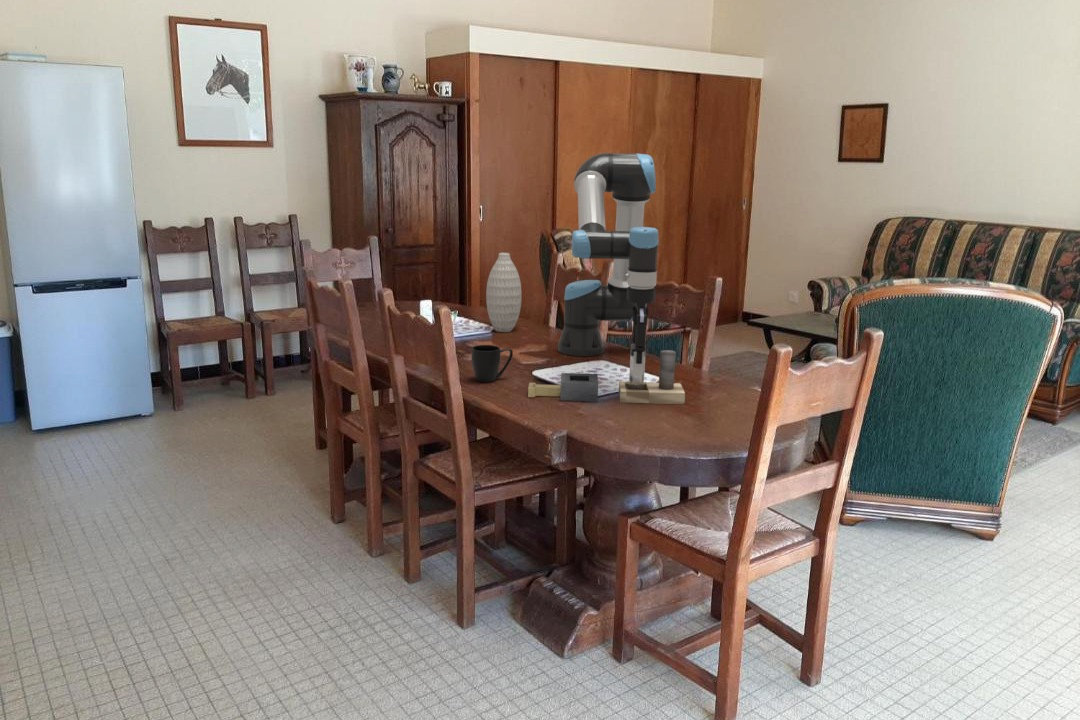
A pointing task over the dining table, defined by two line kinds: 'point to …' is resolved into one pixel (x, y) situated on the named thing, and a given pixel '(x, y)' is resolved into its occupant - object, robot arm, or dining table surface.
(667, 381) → the rack
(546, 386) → the t-shaped block
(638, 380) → the round peg
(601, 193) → the robot arm
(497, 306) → the vase
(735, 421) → the dining table surface
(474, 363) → the mug
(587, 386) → the socket
